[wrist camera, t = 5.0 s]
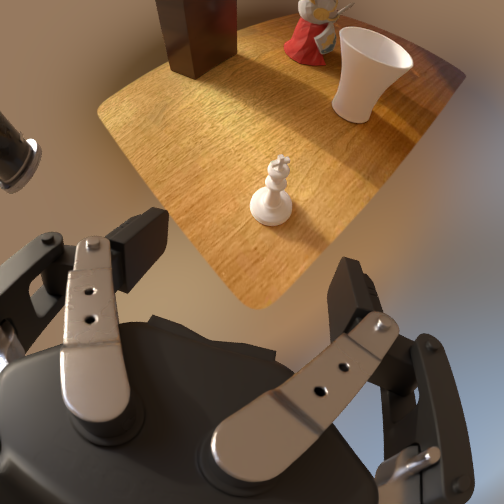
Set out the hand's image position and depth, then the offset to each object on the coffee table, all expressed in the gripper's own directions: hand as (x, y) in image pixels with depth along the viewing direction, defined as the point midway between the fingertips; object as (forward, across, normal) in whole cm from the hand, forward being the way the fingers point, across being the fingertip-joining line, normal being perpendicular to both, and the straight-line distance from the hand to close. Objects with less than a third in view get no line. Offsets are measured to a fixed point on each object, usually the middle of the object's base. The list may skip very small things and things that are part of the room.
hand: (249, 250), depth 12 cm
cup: (+35, -8, -10) cm, 37 cm away
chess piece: (+20, 0, +5) cm, 20 cm away
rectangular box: (+39, +18, -14) cm, 45 cm away
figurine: (+46, 0, -22) cm, 51 cm away
